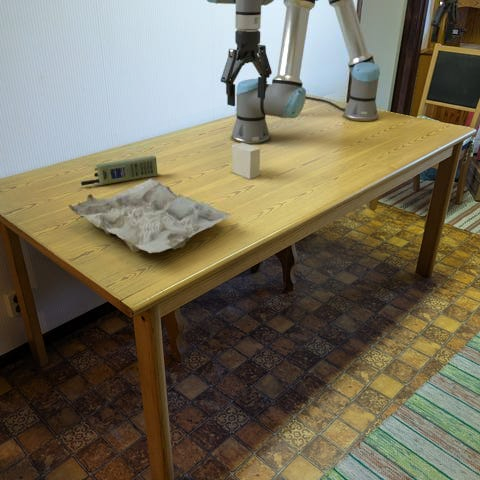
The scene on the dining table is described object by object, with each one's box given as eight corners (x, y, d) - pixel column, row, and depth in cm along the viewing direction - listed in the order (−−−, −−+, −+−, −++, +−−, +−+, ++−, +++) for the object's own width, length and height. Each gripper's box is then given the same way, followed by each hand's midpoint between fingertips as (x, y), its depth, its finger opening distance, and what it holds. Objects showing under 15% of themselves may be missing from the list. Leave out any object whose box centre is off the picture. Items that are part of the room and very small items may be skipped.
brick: (249, 179, 169) (250, 151, 164) (232, 172, 174) (232, 145, 170) (259, 175, 172) (260, 148, 167) (241, 168, 177) (241, 142, 172)
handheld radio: (158, 176, 170) (83, 189, 160) (155, 173, 172) (80, 186, 162) (156, 157, 167) (79, 169, 157) (153, 154, 169) (77, 166, 159)
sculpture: (148, 192, 160) (63, 221, 139) (147, 174, 157) (60, 201, 136) (236, 233, 139) (152, 274, 118) (238, 213, 136) (151, 251, 115)
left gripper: (226, 34, 140) (226, 111, 151) (285, 27, 156) (281, 97, 166) (208, 32, 145) (209, 106, 156) (267, 25, 160) (264, 93, 171)
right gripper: (446, -11, 205) (435, 44, 216) (472, -13, 221) (461, 39, 231) (429, -12, 210) (419, 42, 220) (455, -14, 225) (445, 37, 236)
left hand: (246, 101), depth 161 cm, fingers open, 13 cm apart
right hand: (441, 41), depth 226 cm, fingers open, 13 cm apart
